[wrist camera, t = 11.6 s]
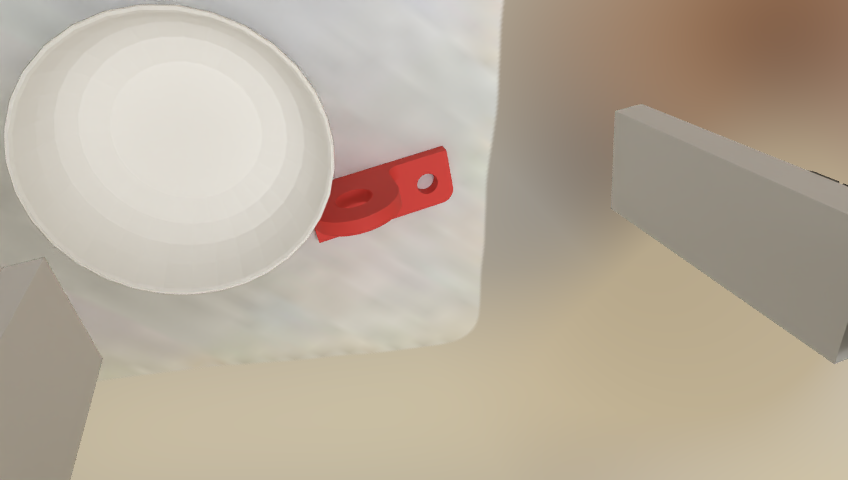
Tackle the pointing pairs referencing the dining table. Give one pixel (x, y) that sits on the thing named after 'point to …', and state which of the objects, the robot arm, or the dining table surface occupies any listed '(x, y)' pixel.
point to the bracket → (384, 194)
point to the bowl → (169, 149)
